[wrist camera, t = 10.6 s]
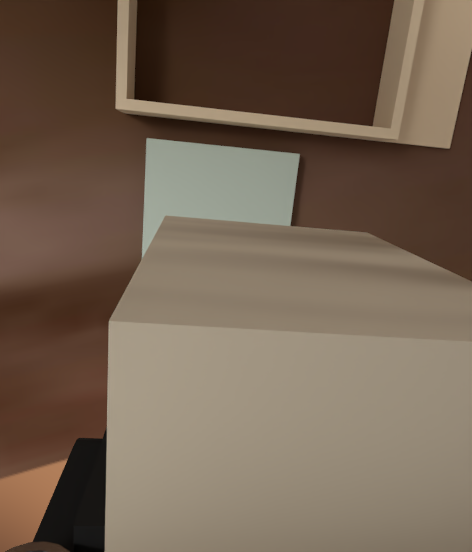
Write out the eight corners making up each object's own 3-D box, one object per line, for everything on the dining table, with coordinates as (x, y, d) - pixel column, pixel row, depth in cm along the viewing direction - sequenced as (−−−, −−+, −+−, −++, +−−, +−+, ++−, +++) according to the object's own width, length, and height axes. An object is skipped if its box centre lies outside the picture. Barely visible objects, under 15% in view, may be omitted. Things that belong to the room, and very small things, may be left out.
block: (165, 215, 9) (109, 321, 3) (366, 232, 10) (618, 350, 4) (146, 575, 12) (97, 976, 6) (304, 574, 12) (398, 945, 7)
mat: (148, 138, 28) (146, 138, 27) (296, 153, 29) (299, 154, 28) (140, 334, 32) (138, 340, 31) (272, 341, 33) (274, 347, 32)
